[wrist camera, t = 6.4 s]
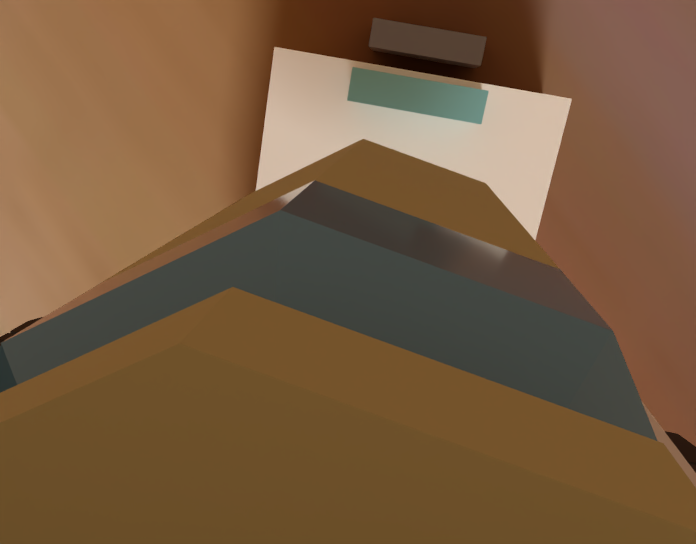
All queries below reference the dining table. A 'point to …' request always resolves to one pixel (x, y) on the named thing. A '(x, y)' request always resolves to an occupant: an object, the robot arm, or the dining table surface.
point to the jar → (335, 383)
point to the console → (415, 115)
